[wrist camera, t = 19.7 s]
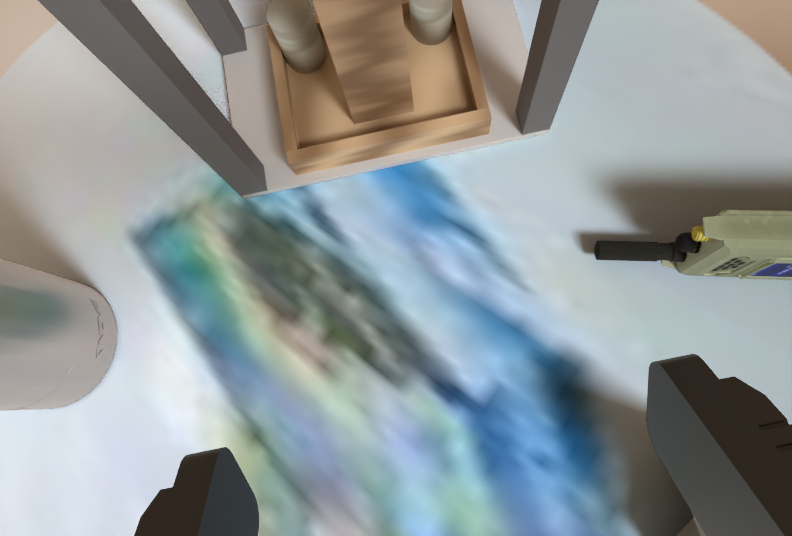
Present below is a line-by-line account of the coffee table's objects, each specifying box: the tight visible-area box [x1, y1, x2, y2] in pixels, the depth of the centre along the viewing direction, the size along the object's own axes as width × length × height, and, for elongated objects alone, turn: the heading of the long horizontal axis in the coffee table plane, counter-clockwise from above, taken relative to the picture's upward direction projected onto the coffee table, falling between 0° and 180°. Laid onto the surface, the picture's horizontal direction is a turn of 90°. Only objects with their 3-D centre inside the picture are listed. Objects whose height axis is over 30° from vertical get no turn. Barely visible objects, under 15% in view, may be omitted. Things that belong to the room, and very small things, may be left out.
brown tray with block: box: [266, 0, 492, 175], centre depth 35 cm, size 14×11×14 cm
